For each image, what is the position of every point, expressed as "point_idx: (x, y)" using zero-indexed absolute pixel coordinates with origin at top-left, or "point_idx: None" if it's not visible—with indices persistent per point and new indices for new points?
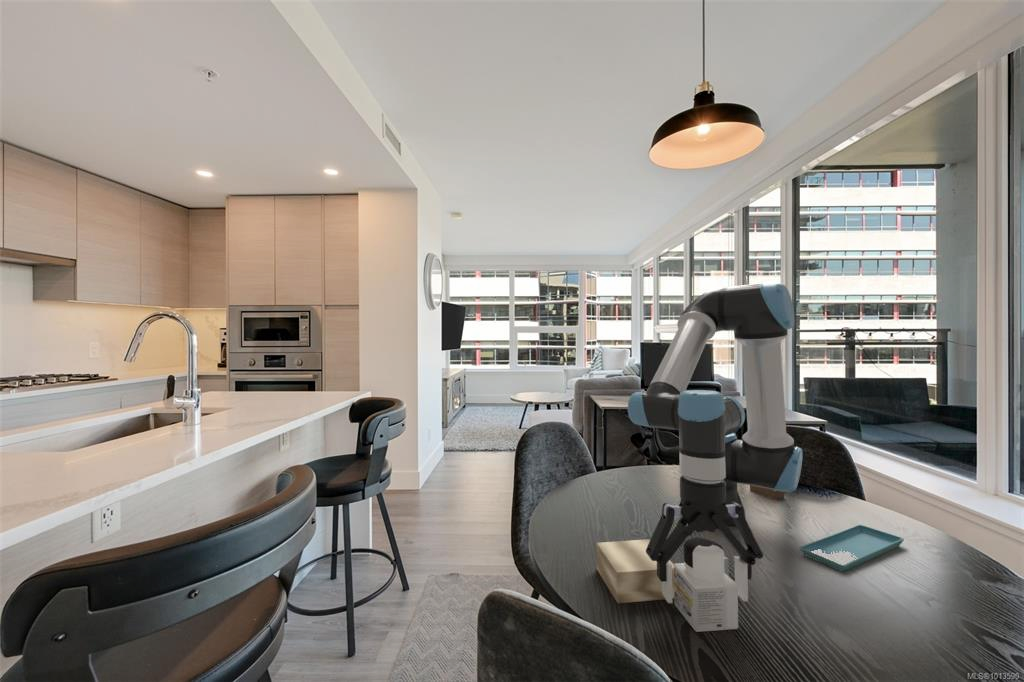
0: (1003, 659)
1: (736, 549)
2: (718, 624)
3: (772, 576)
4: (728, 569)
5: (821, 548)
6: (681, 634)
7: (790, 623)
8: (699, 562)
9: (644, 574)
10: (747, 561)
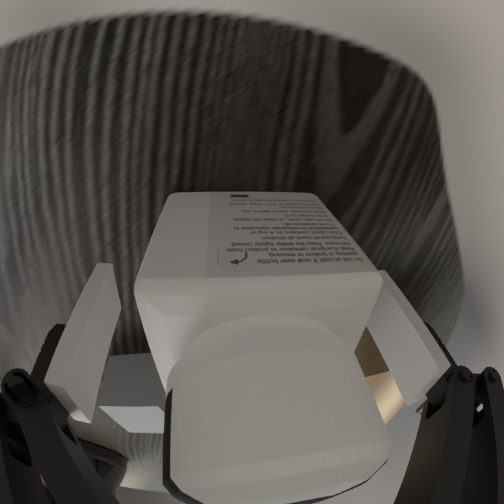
0: None
1: (79, 463)
2: (242, 197)
3: (26, 352)
4: (103, 381)
5: None
6: (357, 192)
7: (23, 214)
8: (370, 400)
9: (380, 363)
10: (39, 391)
